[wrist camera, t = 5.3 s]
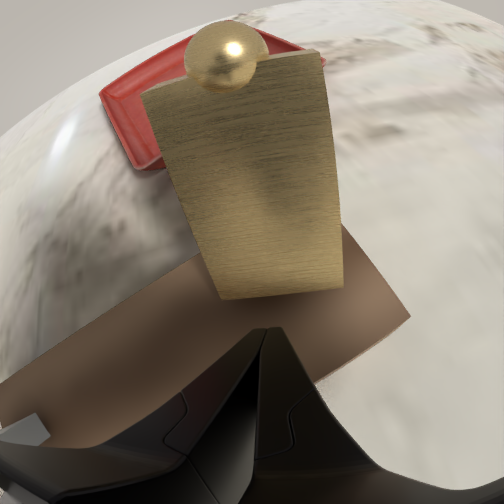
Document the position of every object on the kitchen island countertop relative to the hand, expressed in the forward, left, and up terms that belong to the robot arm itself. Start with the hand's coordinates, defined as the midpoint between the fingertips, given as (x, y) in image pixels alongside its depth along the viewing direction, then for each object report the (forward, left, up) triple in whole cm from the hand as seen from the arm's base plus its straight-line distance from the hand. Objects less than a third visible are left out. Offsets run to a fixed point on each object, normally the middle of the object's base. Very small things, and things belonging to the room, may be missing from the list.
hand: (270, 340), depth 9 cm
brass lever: (+2, -1, -4) cm, 5 cm away
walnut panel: (+2, +8, -8) cm, 11 cm away
